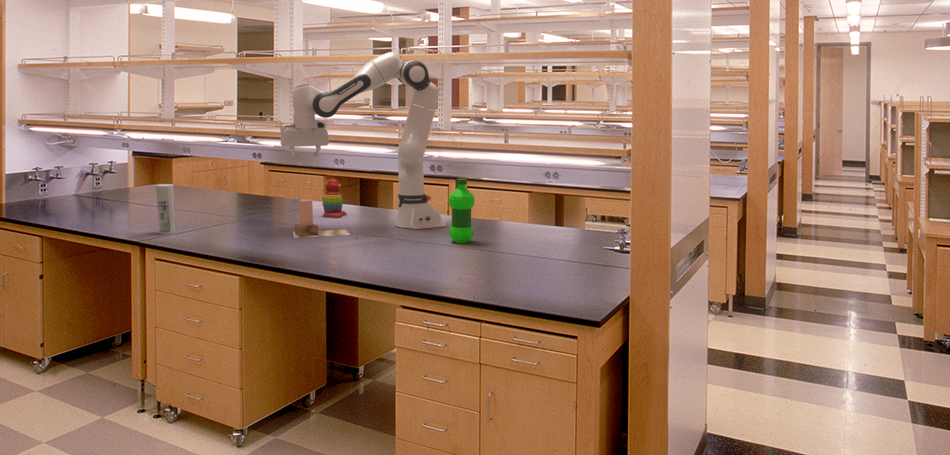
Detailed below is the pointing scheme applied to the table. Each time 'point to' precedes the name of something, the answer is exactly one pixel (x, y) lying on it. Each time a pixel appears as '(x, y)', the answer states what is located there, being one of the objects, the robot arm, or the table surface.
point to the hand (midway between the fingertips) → (305, 157)
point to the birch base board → (327, 233)
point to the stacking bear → (333, 200)
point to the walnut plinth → (306, 230)
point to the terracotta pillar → (305, 212)
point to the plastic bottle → (461, 213)
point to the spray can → (166, 208)
